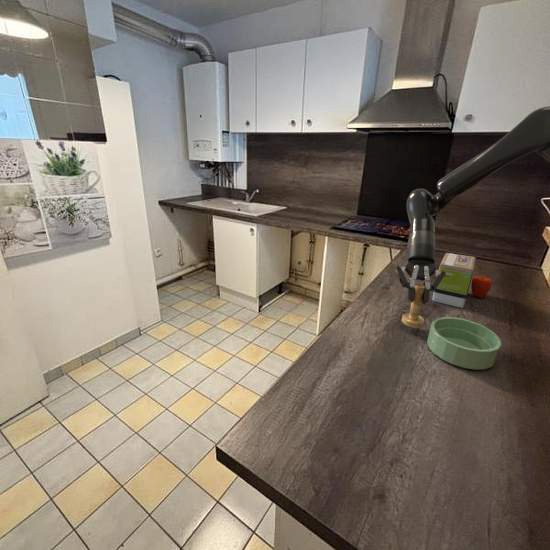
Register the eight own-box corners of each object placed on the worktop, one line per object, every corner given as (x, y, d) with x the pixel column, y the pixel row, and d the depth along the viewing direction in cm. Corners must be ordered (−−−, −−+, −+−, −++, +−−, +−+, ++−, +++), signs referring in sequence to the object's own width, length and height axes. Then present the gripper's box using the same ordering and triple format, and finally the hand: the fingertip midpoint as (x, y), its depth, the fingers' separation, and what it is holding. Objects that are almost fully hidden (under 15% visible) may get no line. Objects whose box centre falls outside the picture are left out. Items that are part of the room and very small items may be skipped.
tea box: (437, 286, 116) (446, 251, 110) (466, 293, 111) (477, 256, 105) (431, 301, 105) (440, 262, 99) (463, 309, 99) (475, 269, 94)
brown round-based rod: (412, 315, 91) (419, 280, 86) (427, 325, 86) (436, 288, 81) (397, 319, 89) (403, 283, 84) (412, 329, 83) (420, 292, 79)
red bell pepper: (465, 291, 112) (470, 273, 109) (483, 292, 111) (488, 274, 108) (471, 298, 107) (477, 280, 104) (490, 300, 106) (496, 281, 103)
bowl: (453, 330, 88) (458, 312, 85) (508, 362, 74) (515, 342, 72) (414, 341, 82) (418, 323, 80) (465, 378, 69) (472, 357, 67)
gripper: (398, 240, 87) (393, 294, 81) (450, 244, 83) (450, 301, 77) (394, 251, 93) (390, 302, 87) (443, 256, 89) (441, 309, 83)
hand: (418, 301), depth 82 cm, fingers closed on brown round-based rod, 2 cm apart
